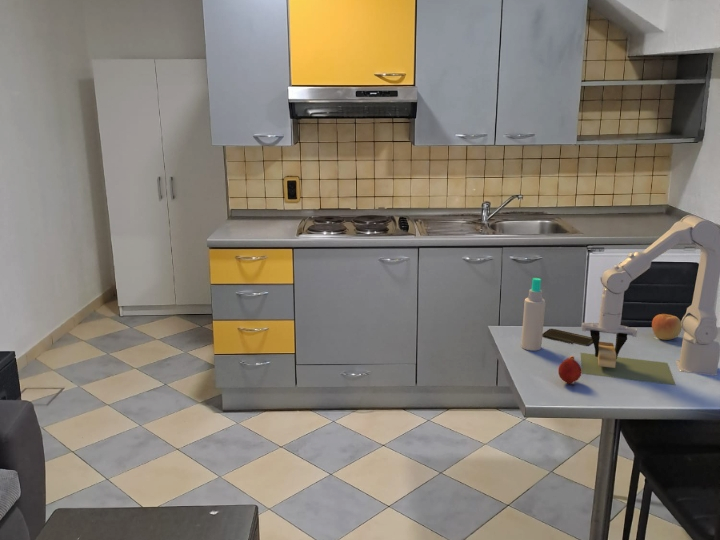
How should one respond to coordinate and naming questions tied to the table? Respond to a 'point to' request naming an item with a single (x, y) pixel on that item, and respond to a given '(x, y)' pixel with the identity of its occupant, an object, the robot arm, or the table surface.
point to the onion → (569, 370)
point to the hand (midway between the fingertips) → (605, 356)
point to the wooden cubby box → (606, 355)
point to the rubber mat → (629, 369)
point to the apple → (666, 326)
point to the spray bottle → (533, 318)
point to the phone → (567, 337)
